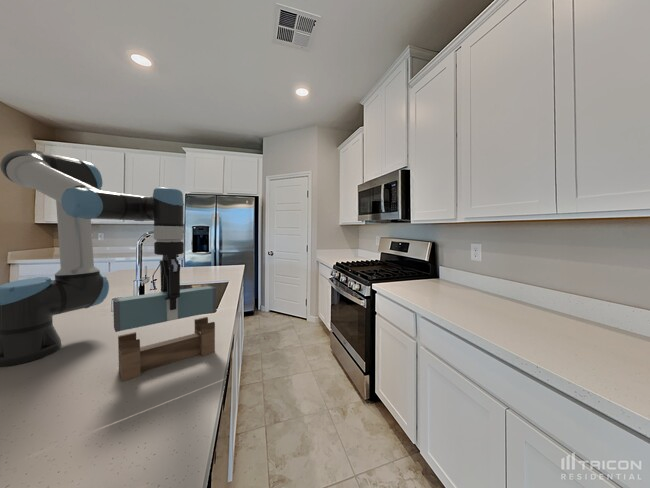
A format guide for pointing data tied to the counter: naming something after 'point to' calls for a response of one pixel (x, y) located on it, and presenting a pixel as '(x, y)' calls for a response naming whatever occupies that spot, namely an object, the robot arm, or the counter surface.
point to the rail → (161, 307)
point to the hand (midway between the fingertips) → (170, 317)
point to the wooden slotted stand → (163, 349)
